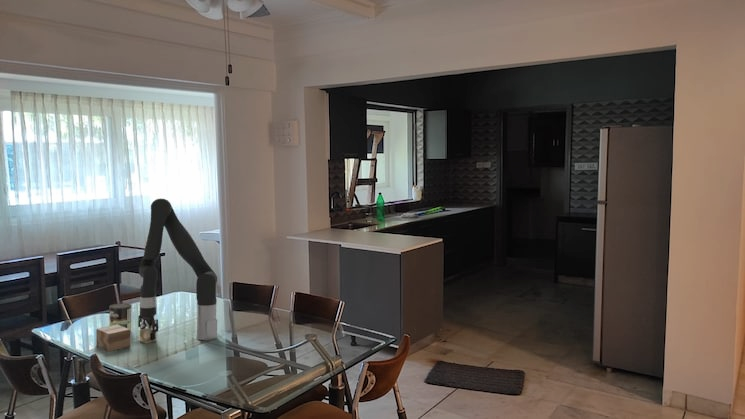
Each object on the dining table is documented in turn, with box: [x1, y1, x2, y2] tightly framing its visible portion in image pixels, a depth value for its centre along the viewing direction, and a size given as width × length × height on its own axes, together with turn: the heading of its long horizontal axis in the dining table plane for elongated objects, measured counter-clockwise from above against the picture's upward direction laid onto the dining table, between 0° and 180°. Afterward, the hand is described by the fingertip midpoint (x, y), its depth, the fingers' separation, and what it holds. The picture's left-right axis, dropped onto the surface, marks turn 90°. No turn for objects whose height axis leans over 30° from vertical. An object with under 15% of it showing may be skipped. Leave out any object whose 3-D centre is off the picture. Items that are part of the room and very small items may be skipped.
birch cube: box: [139, 327, 157, 344], centre depth 263 cm, size 6×6×6 cm
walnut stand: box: [95, 325, 131, 352], centre depth 254 cm, size 12×10×8 cm
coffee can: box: [108, 302, 133, 334], centre depth 274 cm, size 10×10×14 cm
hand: (148, 338), depth 263 cm, fingers open, 8 cm apart
